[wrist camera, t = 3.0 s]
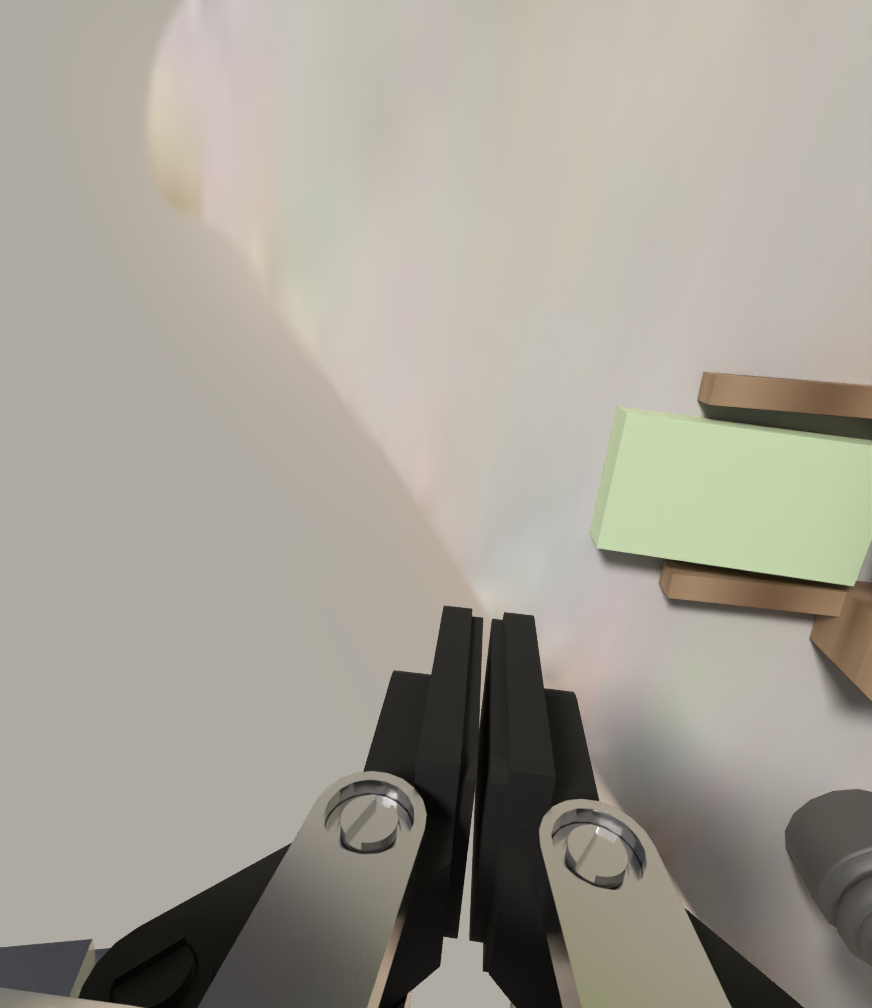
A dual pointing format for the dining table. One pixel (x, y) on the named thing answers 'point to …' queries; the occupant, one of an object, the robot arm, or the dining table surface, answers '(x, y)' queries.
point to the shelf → (840, 608)
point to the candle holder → (838, 862)
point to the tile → (735, 496)
